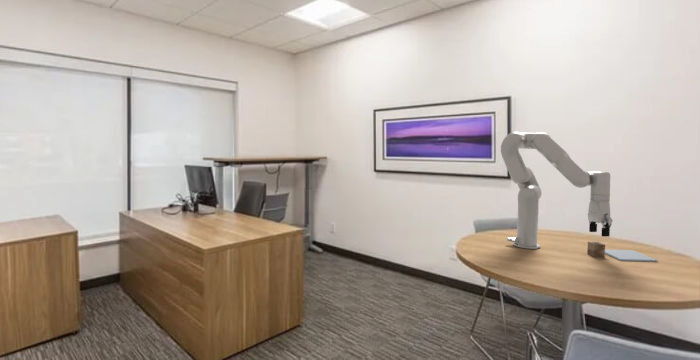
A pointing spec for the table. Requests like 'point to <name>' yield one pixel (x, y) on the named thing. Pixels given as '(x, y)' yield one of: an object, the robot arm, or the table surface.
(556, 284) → the table surface
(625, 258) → the slate board
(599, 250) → the walnut block
